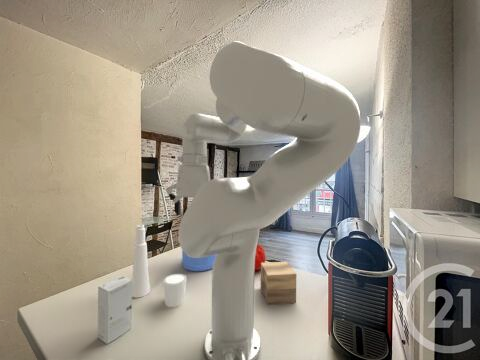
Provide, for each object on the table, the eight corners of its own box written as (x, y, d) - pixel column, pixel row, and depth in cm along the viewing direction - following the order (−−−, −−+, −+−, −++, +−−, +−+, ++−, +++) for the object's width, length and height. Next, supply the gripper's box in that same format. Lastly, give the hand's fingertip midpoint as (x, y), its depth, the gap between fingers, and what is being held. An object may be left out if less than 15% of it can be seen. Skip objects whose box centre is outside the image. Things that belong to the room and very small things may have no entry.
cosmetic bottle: (144, 285, 71) (144, 222, 70) (154, 291, 67) (154, 225, 67) (126, 293, 66) (126, 225, 65) (136, 300, 62) (136, 228, 62)
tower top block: (296, 288, 62) (296, 273, 62) (267, 290, 61) (267, 275, 61) (286, 274, 71) (286, 261, 71) (260, 275, 70) (261, 262, 70)
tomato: (249, 276, 78) (249, 253, 78) (235, 264, 88) (235, 243, 88) (271, 271, 83) (272, 249, 82) (256, 260, 93) (256, 240, 93)
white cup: (185, 307, 59) (185, 283, 59) (160, 309, 58) (160, 285, 58) (187, 294, 66) (187, 272, 66) (165, 295, 65) (165, 274, 65)
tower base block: (296, 303, 62) (296, 288, 62) (267, 305, 61) (267, 290, 61) (285, 287, 71) (285, 274, 71) (260, 288, 70) (260, 275, 70)
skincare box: (107, 345, 46) (107, 292, 46) (96, 337, 48) (96, 286, 48) (133, 327, 51) (133, 279, 51) (122, 321, 53) (122, 275, 53)
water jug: (221, 257, 96) (222, 198, 95) (214, 273, 80) (214, 202, 80) (189, 255, 97) (189, 197, 97) (175, 271, 82) (176, 201, 81)
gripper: (162, 159, 60) (162, 217, 61) (221, 161, 61) (220, 217, 62) (169, 160, 67) (169, 212, 68) (222, 162, 69) (221, 212, 69)
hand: (193, 214), depth 65 cm, fingers open, 9 cm apart
